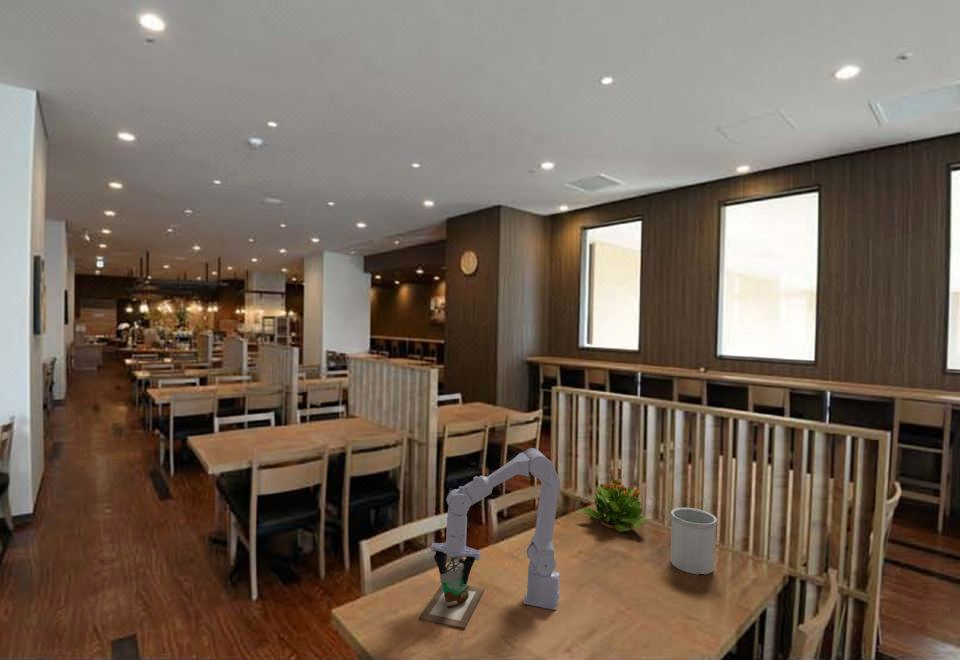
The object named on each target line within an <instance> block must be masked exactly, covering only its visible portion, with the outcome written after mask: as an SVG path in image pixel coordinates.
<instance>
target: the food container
mask: <svg viewBox="0 0 960 660" xmlns="http://www.w3.org/2000/svg"><path fill="white" fill-rule="evenodd" d="M464 560H465V559H464V557H462V556H455V557H450V561H449V563H448V564H446V569H445V571H444V573H443V574H440V573H439V579H440V583H441V585H442V586H443V591H444V595H445V600H446V604H447V608H452V607H456V606H459V605H461V604H463V603H464V602H465V601H466V600H467V599H468V597H469V594H468V586H469V585H468V582H467V583H466V584H464V564H463V562H464Z"/></svg>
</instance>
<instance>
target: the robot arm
mask: <svg viewBox="0 0 960 660" xmlns="http://www.w3.org/2000/svg"><path fill="white" fill-rule="evenodd" d="M530 474H531V475H532V476H533V477H534V478H536V479H538V480H539V481H540V483H541V485H540V492H539V501H538V508H537V514H536V521H535V529H534V535H532V536H531V538H530V539H531V540H530V543H529V544H528V546H527V548H526V555H527V558H528V559H529V563H528V566H527V568H528V569H527V586H526V594H525V596H524V599H523V604H524V605H528V606H531V607H532V606H533V607H539V608H544V609H549V610H554V611H556V610H557V609H558V608H557V607H558V603H559V600H560V594H561V593H560V580H561V579H560V578H561V574H560V572H557V571H555V569H556V566H557V565H556V564H557V563H556V559H555V547H554V543H553V535H554V528H555V522H556V521H555V520H556V513H557V506H558V497H559V491H560V484H561V483H560V482H561V480H560V477H559V475H558V473H557V471H556V469H555V464H554V463H553V462H552V461H551V460H550V459H548V457H546V456H545V454H543V453H542V452H541V451H540V450H539V449H537V448H535V447H530V448H528V449H526V450H525V451H524V452H523V451H522V452H520V453H518V454H517V455H516V456H515V457H514V458H513V459H511V460H510V461H508V462H506V463H505V464H504V465H502V466H501V467H499V468H498V469H496V470H494V471H493V472H492V473H491V474H489V475H487V476H485V475H480V476H477V475H475V476H474V477H472V478H473V480H471V481H469V482H468V483H466V484H465V485H463V486H462V485H461V486H459V487H458V488H455V489H452V490H450V491H449V493H448V494H447V497H445V499H446V503H447V506H448V508H447V516H446V533H445V534H446V536H445V543H443V542H441V543H439V542H432V544H431V545H430V553H434V556H433V558H434V562H435V563H436V565H437V568H438V572H439V575H440V574H443V573H444V571H445V569H446V567H447V558H448V557H450V558H451V557H455V556H459V557H462V558H465V559H464V562H463V564H464V584H466V583H467V584H468V581H469V578H470V573H471V570H472V568H473V565H474V563H475V561H480V560H481V558H482V556H481V555H482V550H478V549H475V548H472V547H469V546H467V528H468V527H467V526H468V517H467V515H468V511H469V510H470V508H471V506H473V505H474V504H476V503H478V502H479V501H481V500H483V499H484V498H486V497H488V496H489V495H491V494H492V491H493V489H494V488H495V487H496V486H498V485H500V484H502V483H503V482H506V481H507V480H510V479H511V478H513V477H514V476H517V475H518V476H519V475H520V476H525V477H530ZM447 556H448V557H447Z"/></svg>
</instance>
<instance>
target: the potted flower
mask: <svg viewBox="0 0 960 660" xmlns="http://www.w3.org/2000/svg"><path fill="white" fill-rule="evenodd" d="M597 488H598V489H597V491H595V496H594V497H593V500H594V501H593V502H594V505H595V506H596V508H595V507H594V509H593V508H591V507H589V508H585V507H584V508H583V509H581V510H580V512H581V513H583V514H585V515H588V516H590V517H592V518H594V519H597V520H600V523H601V525H603V526H605V527H606V528H609V529H614V530H615V529H616V531H617V532H619V533H622V532H626V531H631V530H632V527H631V526H633V527H634V528H635V529H638V528H639V527H641V526H642V525H644V524H646V523H647V520H646V519H645V518H644V516H645V515H642V513H643V511H644V510H643V509H642V508H641V506H642V503H641V501H638V500H639V495H640V494H641V490H638V489H633V488H631V487H629V488H627V487H626V486H625V485H624V484H622V481H621V480H619V479H617V478H613V480H612V483H606V484H603V483H601V484H600V485H599V486H597ZM629 524H630V525H629Z"/></svg>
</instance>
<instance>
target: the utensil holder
mask: <svg viewBox="0 0 960 660" xmlns="http://www.w3.org/2000/svg"><path fill="white" fill-rule="evenodd" d="M670 517H671V522H670V525H671V526H670V528H671V529H670V530H671V531H670V532H671V533H670V562H671V564H672V566H674V568H677V569H678V570H680V571H682V572H685V573H688V574H693V575H699V574H704V575H709V574H711V573H713V571H714V566H715V555H716V554H715V553H716V539H717V538H716V537H717V535H716V534H717V525H718V519H717V517H716V516H715V515H714V514H712V513H710V512H708V511H705V510H702V509H698V508H693V507H676V508H673V509H672V510H671V512H670Z"/></svg>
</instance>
